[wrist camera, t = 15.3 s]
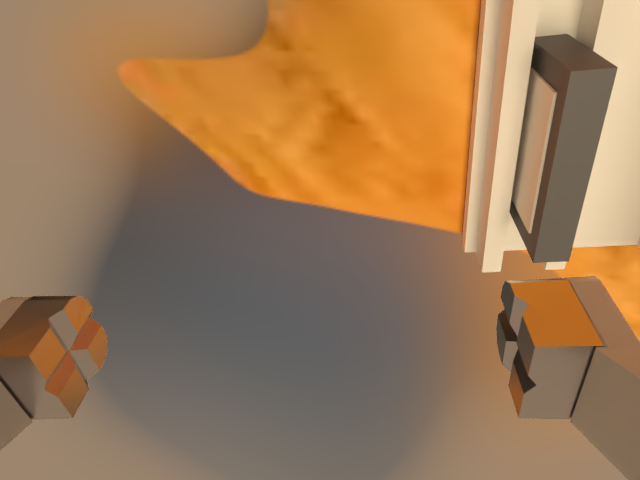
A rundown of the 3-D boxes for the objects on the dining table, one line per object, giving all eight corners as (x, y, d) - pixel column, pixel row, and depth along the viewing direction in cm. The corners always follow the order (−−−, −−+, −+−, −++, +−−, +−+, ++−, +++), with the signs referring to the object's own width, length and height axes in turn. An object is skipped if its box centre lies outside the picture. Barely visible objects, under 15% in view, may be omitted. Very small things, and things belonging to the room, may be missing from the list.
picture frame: (527, 37, 33) (567, 71, 27) (570, 33, 33) (621, 67, 26) (504, 205, 41) (530, 262, 35) (538, 203, 41) (571, 261, 35)
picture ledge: (484, -41, 32) (583, 9, 18) (761, -74, 30) (1120, -46, 16) (461, 242, 46) (506, 396, 32) (649, 234, 44) (786, 394, 30)
